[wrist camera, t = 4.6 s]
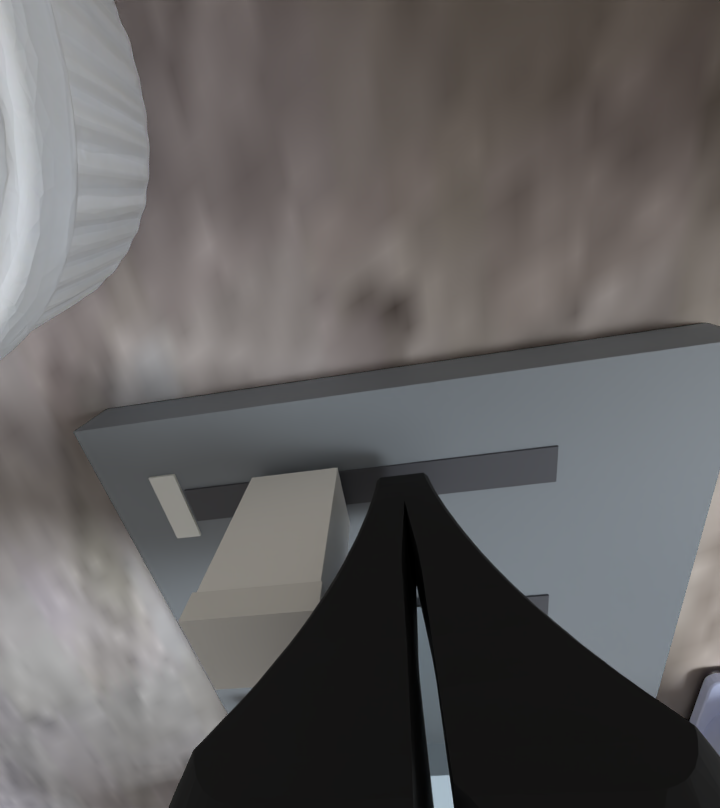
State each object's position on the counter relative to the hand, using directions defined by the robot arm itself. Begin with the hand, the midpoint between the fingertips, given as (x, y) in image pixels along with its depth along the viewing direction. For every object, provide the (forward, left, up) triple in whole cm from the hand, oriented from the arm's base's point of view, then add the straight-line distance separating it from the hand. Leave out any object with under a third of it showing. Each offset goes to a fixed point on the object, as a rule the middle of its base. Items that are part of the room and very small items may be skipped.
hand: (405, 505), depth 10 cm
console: (0, +6, -3) cm, 7 cm away
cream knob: (+3, 0, -1) cm, 3 cm away
